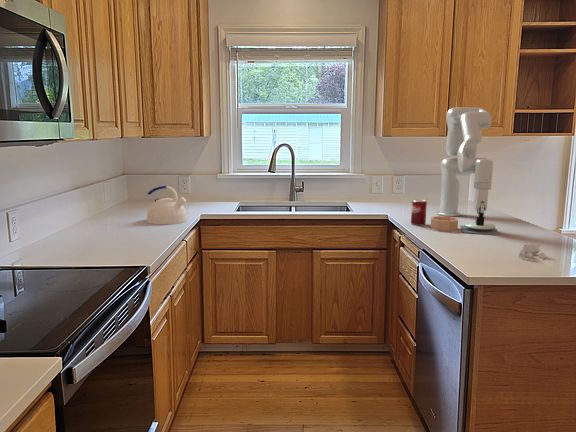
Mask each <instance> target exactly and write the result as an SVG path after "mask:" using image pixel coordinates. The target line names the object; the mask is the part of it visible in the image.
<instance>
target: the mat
mask: <svg viewBox="0 0 576 432" xmlns="http://www.w3.org/2000/svg"><path fill="white" fill-rule="evenodd" d="M459 228H460V230H461V233H462V234H468V235H469V234H472V235H473V234H474V235H488V236H489V235H490V236H500V235H501V234H500V232H499V231H498V229H497V227H495V228H494V229H473V228H468V227H465V226H464V225H461V224H460V225H459Z"/></svg>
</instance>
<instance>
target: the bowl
mask: <svg viewBox="0 0 576 432" xmlns="http://www.w3.org/2000/svg"><path fill="white" fill-rule="evenodd" d="M458 223H459V219H458V218H457V217H455V216H442V215H437V216H430V227H431V228H430V227H429V228H430V230H433V231H437V232H456V231H458V227H459V224H458Z"/></svg>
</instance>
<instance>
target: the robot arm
mask: <svg viewBox="0 0 576 432" xmlns="http://www.w3.org/2000/svg"><path fill="white" fill-rule="evenodd" d="M445 120H446V124H447V135H446V144H445V152H446V155H449V156H454V157H446V158H443V159H442V161H441V162H440V170H441V172H440V173H441V187H440V189H441V190H440V201H439V202H440V203H439V205H440V206H439V210H438V211H436V214H437V216H447V217H460V216H461V212H459V211H458V210H459V198H460V197H459V196H460V180H459V179H458V177H456V176H471V175H473V174H474V180H473V189H475V192H474V201H473V208H474V210H475V211H476V215H475V218H476V217H477V214H478V217H477V222H476V221H475V222H476V225H480V226H483V225H484V223H485V212H486V211H487V209H488V208H487V207H488V198H489V190H490V191H491V190H492V182H493V181H492V180H493V170H494V161H493V160H492V159H489V158H487V157H477V151H478V145H479V144H480V143H481V142H482V141H483V135H482V134H483V133H482V130H487V129H489V128H490V127H491V126H492V116H491V114H490V113H489V111H487V110H485V109H483V108H481V107H469V106H468V107H465V106H462V107H461V106H459V107H458V106H457V107H452V108H449V109H448V111H447V113H446V119H445Z"/></svg>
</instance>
